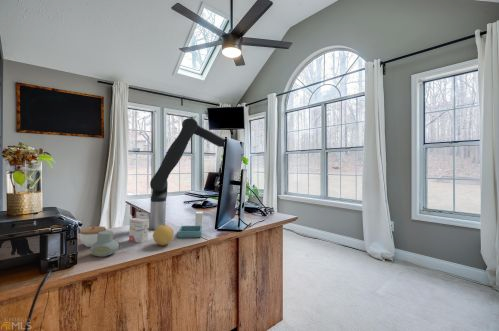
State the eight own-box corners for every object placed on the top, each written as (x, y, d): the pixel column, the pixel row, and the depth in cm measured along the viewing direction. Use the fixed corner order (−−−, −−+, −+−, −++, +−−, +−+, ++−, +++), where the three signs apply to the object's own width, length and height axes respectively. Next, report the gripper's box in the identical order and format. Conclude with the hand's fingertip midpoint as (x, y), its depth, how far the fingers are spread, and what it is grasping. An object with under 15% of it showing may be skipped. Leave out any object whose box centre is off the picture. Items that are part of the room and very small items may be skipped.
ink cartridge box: (128, 241, 122) (129, 213, 122) (135, 238, 127) (136, 211, 127) (141, 243, 120) (142, 214, 120) (148, 240, 125) (149, 213, 125)
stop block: (195, 228, 150) (195, 213, 150) (195, 226, 155) (196, 211, 155) (202, 228, 151) (202, 213, 151) (202, 226, 155) (203, 211, 155)
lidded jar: (83, 242, 118) (83, 223, 118) (107, 240, 122) (108, 222, 122) (76, 249, 108) (76, 229, 108) (102, 247, 112) (103, 228, 112)
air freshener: (86, 258, 99) (87, 235, 99) (94, 251, 107) (95, 229, 107) (115, 257, 101) (115, 234, 101) (120, 250, 110) (121, 229, 110)
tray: (177, 237, 130) (178, 231, 130) (180, 231, 143) (181, 225, 143) (200, 237, 132) (201, 231, 132) (201, 231, 145) (202, 225, 145)
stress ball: (169, 249, 115) (180, 233, 121) (156, 237, 110) (169, 220, 117) (157, 248, 120) (169, 232, 127) (145, 236, 116) (158, 220, 123)
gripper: (214, 168, 164) (209, 190, 159) (226, 166, 153) (220, 190, 149) (223, 171, 168) (218, 193, 164) (235, 170, 157) (229, 193, 153)
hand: (219, 191), depth 156 cm, fingers open, 8 cm apart
